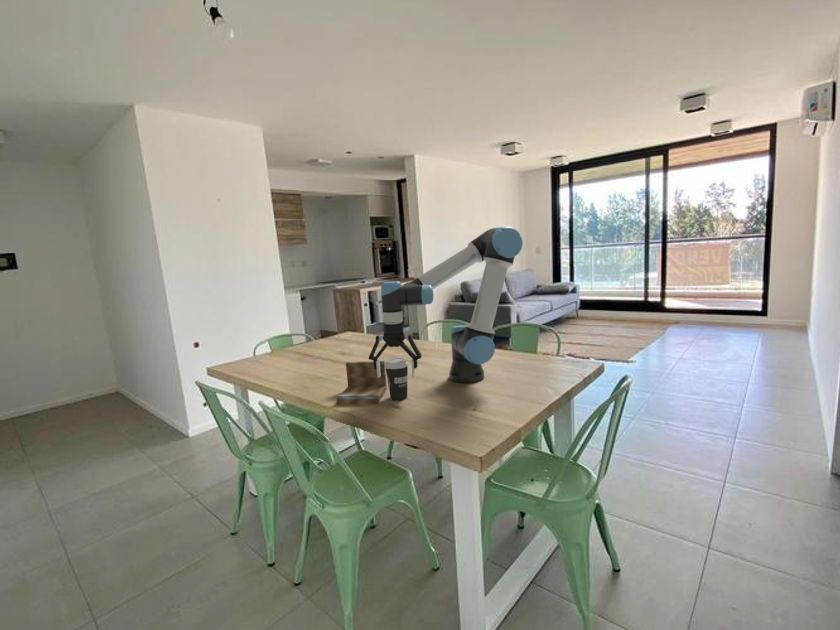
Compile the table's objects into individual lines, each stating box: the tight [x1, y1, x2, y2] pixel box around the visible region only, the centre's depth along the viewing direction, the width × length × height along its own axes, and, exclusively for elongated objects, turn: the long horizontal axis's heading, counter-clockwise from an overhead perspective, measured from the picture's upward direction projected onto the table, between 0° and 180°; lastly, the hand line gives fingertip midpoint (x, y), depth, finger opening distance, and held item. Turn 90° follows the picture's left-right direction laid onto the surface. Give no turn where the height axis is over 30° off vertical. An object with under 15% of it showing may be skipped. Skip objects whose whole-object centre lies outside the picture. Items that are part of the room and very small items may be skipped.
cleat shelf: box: [335, 360, 388, 405], centre depth 168 cm, size 16×17×12 cm
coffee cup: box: [384, 357, 410, 402], centre depth 163 cm, size 10×10×15 cm
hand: (396, 376), depth 163 cm, fingers open, 13 cm apart
